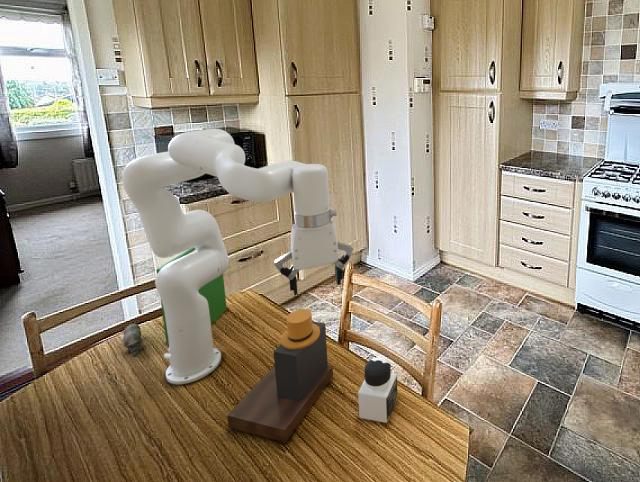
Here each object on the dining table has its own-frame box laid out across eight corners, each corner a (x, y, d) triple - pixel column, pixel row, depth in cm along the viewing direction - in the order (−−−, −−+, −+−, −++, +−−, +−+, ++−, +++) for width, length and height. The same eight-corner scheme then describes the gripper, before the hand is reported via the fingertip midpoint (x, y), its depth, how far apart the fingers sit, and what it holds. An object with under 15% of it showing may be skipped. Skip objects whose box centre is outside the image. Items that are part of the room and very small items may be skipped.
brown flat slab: (228, 430, 84) (226, 415, 83) (284, 368, 102) (283, 355, 101) (286, 445, 80) (284, 429, 80) (333, 378, 98) (332, 365, 98)
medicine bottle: (387, 424, 85) (386, 378, 83) (358, 418, 87) (356, 373, 85) (398, 398, 92) (396, 355, 90) (371, 393, 94) (369, 351, 92)
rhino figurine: (125, 367, 103) (122, 347, 102) (124, 341, 113) (121, 323, 112) (145, 359, 105) (142, 340, 104) (141, 335, 115) (139, 318, 114)
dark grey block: (276, 396, 88) (272, 351, 86) (307, 360, 100) (304, 319, 98) (299, 401, 87) (295, 355, 85) (327, 364, 98) (325, 323, 96)
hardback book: (205, 308, 129) (198, 243, 125) (226, 308, 129) (219, 243, 125) (166, 343, 112) (156, 269, 108) (190, 343, 112) (181, 269, 108)
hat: (272, 345, 88) (270, 324, 87) (296, 322, 97) (294, 302, 96) (305, 352, 86) (304, 330, 85) (327, 327, 94) (326, 307, 93)
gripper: (347, 207, 92) (350, 271, 95) (270, 219, 84) (276, 288, 87) (354, 217, 86) (357, 286, 88) (271, 230, 78) (277, 305, 81)
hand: (317, 287), depth 88 cm, fingers open, 9 cm apart
